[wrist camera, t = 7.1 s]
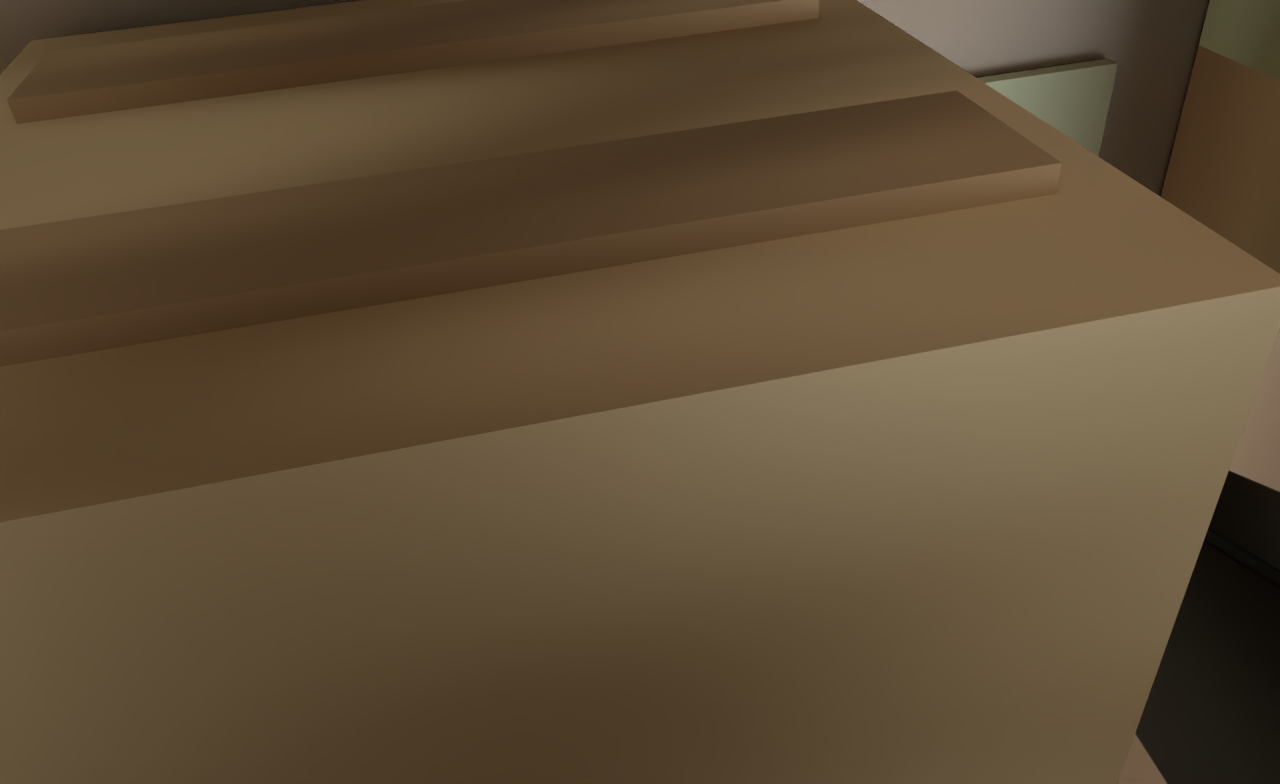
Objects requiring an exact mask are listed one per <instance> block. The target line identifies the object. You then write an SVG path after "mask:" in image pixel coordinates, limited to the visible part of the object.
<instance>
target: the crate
mask: <svg viewBox="0 0 1280 784" xmlns="http://www.w3.org/2000/svg"><path fill="white" fill-rule="evenodd" d="M1279 328H1280V274H1279V273H1278V272H1276V271H1275V270H1273V269H1271V268H1270V267H1268V266H1267V265H1265V264H1264V263H1262V262H1261V261H1259V260H1258V259H1256V258H1254V257H1253V256H1251V255H1250V254H1248V253H1247V252H1245V251H1244V250H1242V249H1240V248H1239V247H1237V246H1236V245H1234V244H1233V243H1231V242H1230V241H1228V240H1227V239H1225V238H1223V237H1222V236H1220V235H1219V234H1217V233H1216V232H1214V231H1213V230H1211V229H1210V228H1208V227H1206V226H1205V225H1203V224H1202V223H1200V222H1199V221H1197V220H1196V219H1194V218H1193V217H1191V216H1189V215H1188V214H1186V213H1185V212H1183V211H1182V210H1180V209H1179V208H1177V207H1176V206H1174V205H1172V204H1171V203H1169V202H1168V201H1166V200H1165V199H1163V198H1162V197H1160V196H1158V195H1157V194H1155V193H1154V192H1152V191H1151V190H1149V189H1148V188H1146V187H1145V186H1143V185H1141V184H1140V183H1138V182H1137V181H1135V180H1134V179H1132V178H1131V177H1129V176H1128V175H1126V174H1124V173H1123V172H1121V171H1120V170H1118V169H1117V168H1115V167H1114V166H1112V165H1111V164H1109V163H1107V162H1106V161H1104V160H1103V159H1101V158H1100V157H1098V156H1097V155H1095V154H1093V153H1092V152H1090V151H1089V150H1087V149H1086V148H1084V147H1083V146H1081V145H1080V144H1078V143H1076V142H1075V141H1073V140H1072V139H1070V138H1069V137H1067V136H1066V135H1064V134H1063V133H1061V132H1059V131H1058V130H1056V129H1055V128H1053V127H1052V126H1050V125H1049V124H1047V123H1046V122H1044V121H1042V120H1041V119H1039V118H1038V117H1036V116H1035V115H1033V114H1032V113H1030V112H1028V111H1027V110H1025V109H1024V108H1022V107H1021V106H1019V105H1018V104H1016V103H1015V102H1013V101H1011V100H1010V99H1008V98H1007V97H1005V96H1004V95H1002V94H1001V93H999V92H998V91H996V90H994V89H993V88H991V87H990V86H988V85H987V84H985V83H984V82H982V81H981V80H979V79H977V78H976V77H974V76H973V75H971V74H970V73H968V72H967V71H965V70H963V69H962V68H960V67H959V66H957V65H956V64H954V63H953V62H951V61H950V60H948V59H946V58H945V57H943V56H942V55H940V54H939V53H937V52H936V51H934V50H933V49H931V48H929V47H928V46H926V45H925V44H923V43H922V42H920V41H919V40H917V39H916V38H914V37H912V36H911V35H909V34H908V33H906V32H905V31H903V30H902V29H900V28H898V27H897V26H895V25H894V24H892V23H891V22H889V21H888V20H886V19H885V18H883V17H881V16H880V15H878V14H877V13H875V12H874V11H872V10H871V9H869V8H868V7H866V6H864V5H863V4H861V3H860V2H858V1H857V0H361V1H353V2H345V3H337V4H328V5H320V6H312V7H304V8H295V9H287V10H279V11H270V12H262V13H254V14H246V15H237V16H229V17H221V18H213V19H204V20H196V21H188V22H180V23H171V24H163V25H155V26H147V27H138V28H130V29H122V30H114V31H105V32H97V33H89V34H81V35H72V36H64V37H56V38H48V39H39V40H31V41H30V42H29V43H28V45H27V46H26V47H25V48H24V49H23V50H22V51H21V52H20V53H19V55H18V56H17V57H16V58H15V59H14V60H13V61H12V62H11V63H10V64H9V66H8V67H7V68H6V69H5V70H4V71H3V72H2V73H1V74H0V784H1117V783H1118V780H1119V777H1120V775H1121V772H1122V769H1123V766H1124V763H1125V761H1126V758H1127V755H1128V752H1129V749H1130V747H1131V744H1132V741H1133V738H1134V735H1135V733H1136V730H1137V727H1138V724H1139V721H1140V718H1141V716H1142V713H1143V710H1144V707H1145V704H1146V702H1147V699H1148V696H1149V693H1150V690H1151V688H1152V685H1153V682H1154V679H1155V676H1156V674H1157V671H1158V668H1159V665H1160V662H1161V659H1162V657H1163V654H1164V651H1165V648H1166V645H1167V643H1168V640H1169V637H1170V634H1171V631H1172V629H1173V626H1174V623H1175V620H1176V617H1177V615H1178V612H1179V609H1180V606H1181V603H1182V600H1183V598H1184V595H1185V592H1186V589H1187V586H1188V584H1189V581H1190V578H1191V575H1192V572H1193V570H1194V567H1195V564H1196V561H1197V558H1198V556H1199V553H1200V550H1201V547H1202V544H1203V541H1204V539H1205V536H1206V533H1207V530H1208V527H1209V525H1210V522H1211V519H1212V516H1213V513H1214V511H1215V508H1216V505H1217V502H1218V499H1219V497H1220V494H1221V491H1222V488H1223V485H1224V482H1225V480H1226V477H1227V474H1228V471H1229V468H1230V466H1231V463H1232V460H1233V457H1234V454H1235V452H1236V449H1237V446H1238V443H1239V440H1240V438H1241V435H1242V432H1243V429H1244V426H1245V423H1246V421H1247V418H1248V415H1249V412H1250V409H1251V407H1252V404H1253V401H1254V398H1255V395H1256V393H1257V390H1258V387H1259V384H1260V381H1261V379H1262V376H1263V373H1264V370H1265V367H1266V364H1267V362H1268V359H1269V356H1270V353H1271V350H1272V348H1273V345H1274V342H1275V339H1276V336H1277V334H1278V331H1279Z"/></svg>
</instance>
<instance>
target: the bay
mask: <svg viewBox="0 0 1280 784" xmlns="http://www.w3.org/2000/svg"><path fill="white" fill-rule="evenodd" d="M1117 66H1118V63H1117V62H1115V61H1113V60H1111V59H1109V58H1108V59H1101V60H1095V61H1088V62H1081V63H1074V64H1067V65H1061V66H1054V67H1047V68H1040V69H1033V70H1027V71H1020V72H1013V73H1006V74H999V75H992V76H986V77H979V78H977V79H979V80H981V81H982V82H984V83H985V84H987V85H988V86H990V87H991V88H993V89H994V90H996V91H998V92H999V93H1001V94H1002V95H1004V96H1005V97H1007V98H1008V99H1010V100H1011V101H1013V102H1015V103H1016V104H1018V105H1019V106H1021V107H1022V108H1024V109H1025V110H1027V111H1028V112H1030V113H1032V114H1033V115H1035V116H1036V117H1038V118H1039V119H1041V120H1042V121H1044V122H1046V123H1047V124H1049V125H1050V126H1052V127H1053V128H1055V129H1056V130H1058V131H1059V132H1061V133H1063V134H1064V135H1066V136H1067V137H1069V138H1070V139H1072V140H1073V141H1075V142H1076V143H1078V144H1080V145H1081V146H1083V147H1084V148H1086V149H1087V150H1089V151H1090V152H1092V153H1093V154H1095V155H1097V156H1098V157H1099V153H1100V148H1101V143H1102V138H1103V134H1104V129H1105V124H1106V119H1107V114H1108V110H1109V105H1110V100H1111V95H1112V90H1113V86H1114V81H1115V76H1116V71H1117ZM1161 197H1162V198H1163V199H1165V200H1166V201H1168V202H1169V203H1171V204H1172V205H1174V206H1176V207H1177V208H1179V209H1180V210H1182V211H1183V212H1185V213H1186V214H1188V215H1189V216H1191V217H1193V218H1194V219H1196V220H1197V221H1199V222H1200V223H1202V224H1203V225H1205V226H1206V227H1208V228H1210V229H1211V230H1213V231H1214V232H1216V233H1217V234H1219V235H1220V236H1222V237H1223V238H1225V239H1227V240H1228V241H1230V242H1231V243H1233V244H1234V245H1236V246H1237V247H1239V248H1240V249H1242V250H1244V251H1245V252H1247V253H1248V254H1250V255H1251V256H1253V257H1254V258H1256V259H1258V260H1259V261H1261V262H1262V263H1264V264H1265V265H1267V266H1268V267H1270V268H1271V269H1273V270H1275V271H1276V272H1278V273H1279V274H1280V0H1210V2H1209V6H1208V10H1207V14H1206V18H1205V22H1204V26H1203V30H1202V34H1201V38H1200V42H1199V46H1198V50H1197V54H1196V58H1195V62H1194V66H1193V70H1192V74H1191V78H1190V82H1189V86H1188V90H1187V94H1186V98H1185V102H1184V106H1183V110H1182V114H1181V118H1180V122H1179V126H1178V130H1177V134H1176V138H1175V142H1174V146H1173V150H1172V154H1171V158H1170V161H1169V165H1168V169H1167V173H1166V177H1165V181H1164V185H1163V189H1162V193H1161ZM1229 470H1230V471H1232V472H1234V473H1237V474H1239V475H1242V476H1244V477H1246V478H1249V479H1251V480H1253V481H1256V482H1258V483H1260V484H1263V485H1265V486H1268V487H1270V488H1272V489H1275V490H1277V491H1279V492H1280V328H1279V331H1278V334H1277V336H1276V339H1275V342H1274V345H1273V348H1272V350H1271V353H1270V356H1269V359H1268V362H1267V364H1266V367H1265V370H1264V373H1263V376H1262V379H1261V381H1260V384H1259V387H1258V390H1257V393H1256V395H1255V398H1254V401H1253V404H1252V407H1251V409H1250V412H1249V415H1248V418H1247V421H1246V423H1245V426H1244V429H1243V432H1242V435H1241V438H1240V440H1239V443H1238V446H1237V449H1236V452H1235V454H1234V457H1233V460H1232V463H1231V466H1230V468H1229ZM1117 784H1167V783H1166V781H1165V780H1164V778H1163V777H1162V775H1161V773H1160V772H1159V770H1158V769H1157V767H1156V766H1155V764H1154V762H1153V761H1152V759H1151V758H1150V756H1149V755H1148V753H1147V752H1146V750H1145V748H1144V747H1143V745H1142V744H1141V742H1140V741H1139V739H1138V737H1137V736H1136V734H1135V735H1134V738H1133V741H1132V744H1131V747H1130V749H1129V752H1128V755H1127V758H1126V761H1125V763H1124V766H1123V769H1122V772H1121V775H1120V777H1119V780H1118V783H1117Z"/></svg>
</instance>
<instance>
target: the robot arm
mask: <svg viewBox="0 0 1280 784" xmlns="http://www.w3.org/2000/svg"><path fill="white" fill-rule="evenodd" d="M1135 734H1136V736H1137V737H1138V739H1139V741H1140V742H1141V744H1142V745H1143V747H1144V748H1145V750H1146V752H1147V753H1148V755H1149V756H1150V758H1151V759H1152V761H1153V762H1154V764H1155V766H1156V767H1157V769H1158V770H1159V772H1160V773H1161V775H1162V777H1163V778H1164V780H1165V781H1166V783H1167V784H1280V492H1279V491H1277V490H1275V489H1272V488H1270V487H1268V486H1265V485H1263V484H1260V483H1258V482H1256V481H1253V480H1251V479H1249V478H1246V477H1244V476H1242V475H1239V474H1237V473H1234V472H1232V471H1230V470H1229V471H1228V474H1227V477H1226V480H1225V482H1224V485H1223V488H1222V491H1221V494H1220V497H1219V499H1218V502H1217V505H1216V508H1215V511H1214V513H1213V516H1212V519H1211V522H1210V525H1209V527H1208V530H1207V533H1206V536H1205V539H1204V541H1203V544H1202V547H1201V550H1200V553H1199V556H1198V558H1197V561H1196V564H1195V567H1194V570H1193V572H1192V575H1191V578H1190V581H1189V584H1188V586H1187V589H1186V592H1185V595H1184V598H1183V600H1182V603H1181V606H1180V609H1179V612H1178V615H1177V617H1176V620H1175V623H1174V626H1173V629H1172V631H1171V634H1170V637H1169V640H1168V643H1167V645H1166V648H1165V651H1164V654H1163V657H1162V659H1161V662H1160V665H1159V668H1158V671H1157V674H1156V676H1155V679H1154V682H1153V685H1152V688H1151V690H1150V693H1149V696H1148V699H1147V702H1146V704H1145V707H1144V710H1143V713H1142V716H1141V718H1140V721H1139V724H1138V727H1137V730H1136V733H1135Z"/></svg>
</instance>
